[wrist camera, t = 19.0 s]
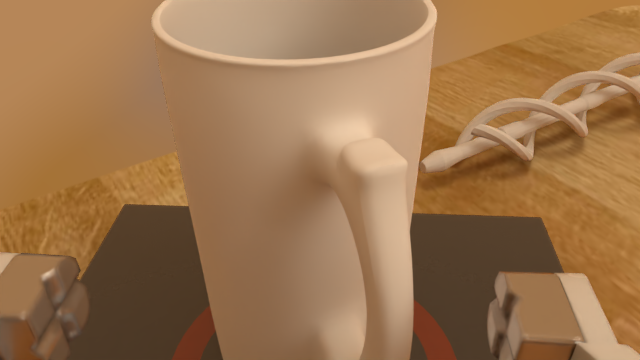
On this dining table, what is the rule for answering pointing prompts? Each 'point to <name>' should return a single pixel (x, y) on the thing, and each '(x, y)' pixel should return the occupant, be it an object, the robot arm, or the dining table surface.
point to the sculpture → (538, 115)
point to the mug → (301, 167)
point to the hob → (194, 308)
